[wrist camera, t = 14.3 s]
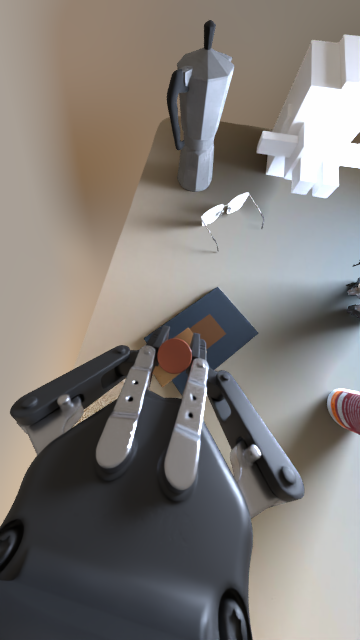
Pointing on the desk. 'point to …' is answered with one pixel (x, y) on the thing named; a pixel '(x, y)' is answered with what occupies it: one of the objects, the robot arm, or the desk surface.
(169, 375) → the stamp
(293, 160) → the white voxel figure
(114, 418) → the robot arm
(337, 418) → the pill bottle
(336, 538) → the desk surface
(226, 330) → the mat
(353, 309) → the figurine
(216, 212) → the eyeglasses
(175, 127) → the coffeepot
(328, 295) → the desk surface
